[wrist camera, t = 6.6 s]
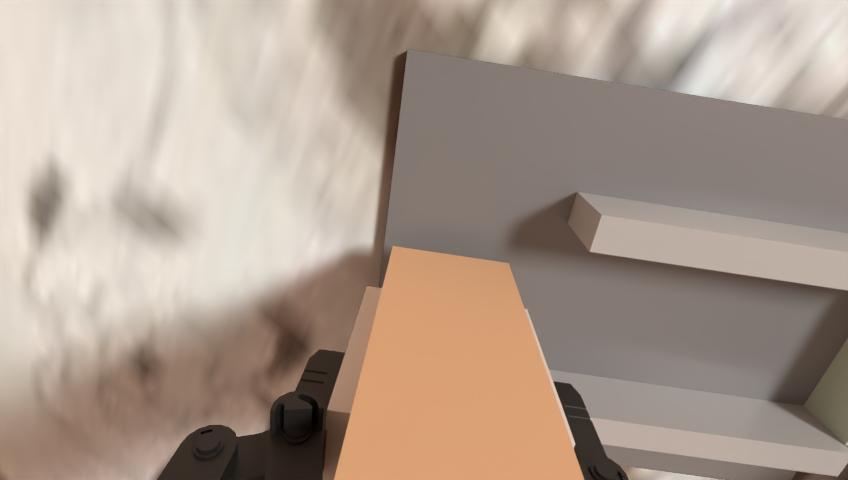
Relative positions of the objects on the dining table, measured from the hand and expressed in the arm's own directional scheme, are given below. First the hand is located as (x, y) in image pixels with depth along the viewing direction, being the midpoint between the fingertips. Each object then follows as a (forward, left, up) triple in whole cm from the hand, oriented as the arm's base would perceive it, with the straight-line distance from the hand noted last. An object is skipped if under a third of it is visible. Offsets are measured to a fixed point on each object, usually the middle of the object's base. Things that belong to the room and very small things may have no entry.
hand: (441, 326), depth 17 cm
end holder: (0, +10, -4) cm, 10 cm away
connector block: (0, 0, -2) cm, 2 cm away
